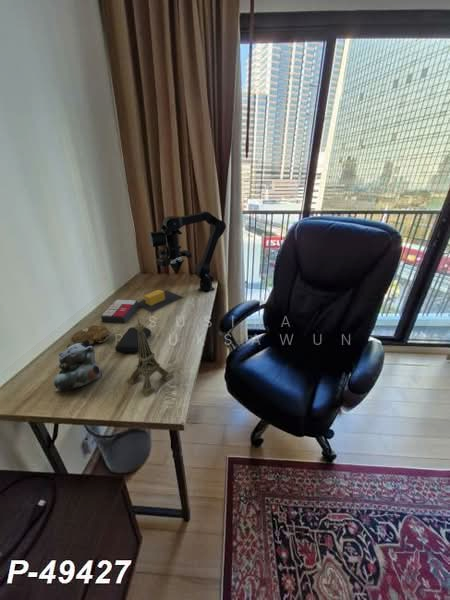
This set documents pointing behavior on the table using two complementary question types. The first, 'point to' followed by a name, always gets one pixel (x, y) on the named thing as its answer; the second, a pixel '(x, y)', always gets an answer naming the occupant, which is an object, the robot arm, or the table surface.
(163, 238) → the robot arm
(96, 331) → the decorative rock
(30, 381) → the table surface
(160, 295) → the block
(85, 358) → the grey lumpy figure
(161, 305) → the mat
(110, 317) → the red and white box
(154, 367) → the eiffel tower
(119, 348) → the carrying case
